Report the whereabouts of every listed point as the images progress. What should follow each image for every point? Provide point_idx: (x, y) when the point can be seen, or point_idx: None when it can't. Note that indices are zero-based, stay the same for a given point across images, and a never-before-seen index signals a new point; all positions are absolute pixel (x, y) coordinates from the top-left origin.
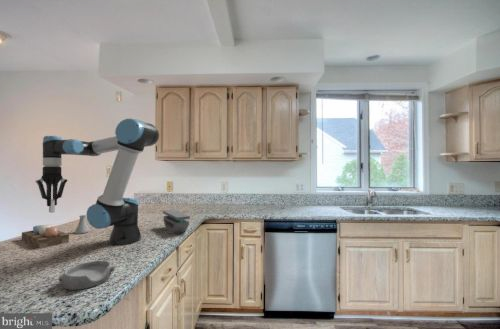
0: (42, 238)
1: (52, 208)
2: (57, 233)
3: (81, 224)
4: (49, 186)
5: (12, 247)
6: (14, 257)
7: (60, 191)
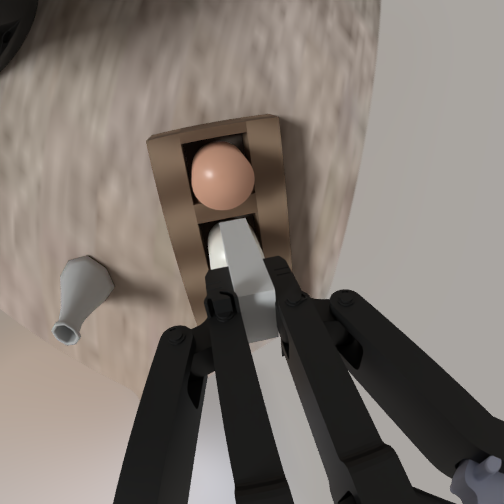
0: (263, 141)
1: (241, 237)
2: (196, 157)
3: (80, 294)
4: (370, 448)
5: (331, 209)
6: (352, 62)
7: (173, 400)
